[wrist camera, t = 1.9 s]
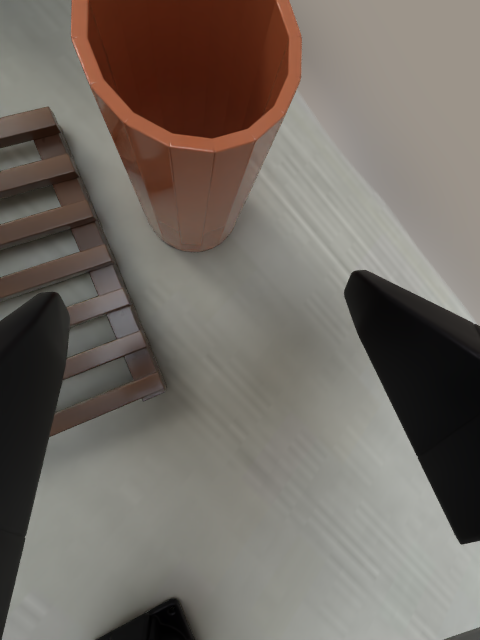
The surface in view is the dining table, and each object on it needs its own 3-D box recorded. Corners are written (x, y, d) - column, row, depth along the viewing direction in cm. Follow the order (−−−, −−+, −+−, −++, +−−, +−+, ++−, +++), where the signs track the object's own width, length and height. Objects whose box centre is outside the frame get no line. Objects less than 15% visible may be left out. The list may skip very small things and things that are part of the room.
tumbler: (249, 235, 22) (331, 119, 9) (165, 264, 21) (126, 178, 8) (217, 150, 22) (257, -95, 9) (130, 175, 21) (30, -63, 8)
